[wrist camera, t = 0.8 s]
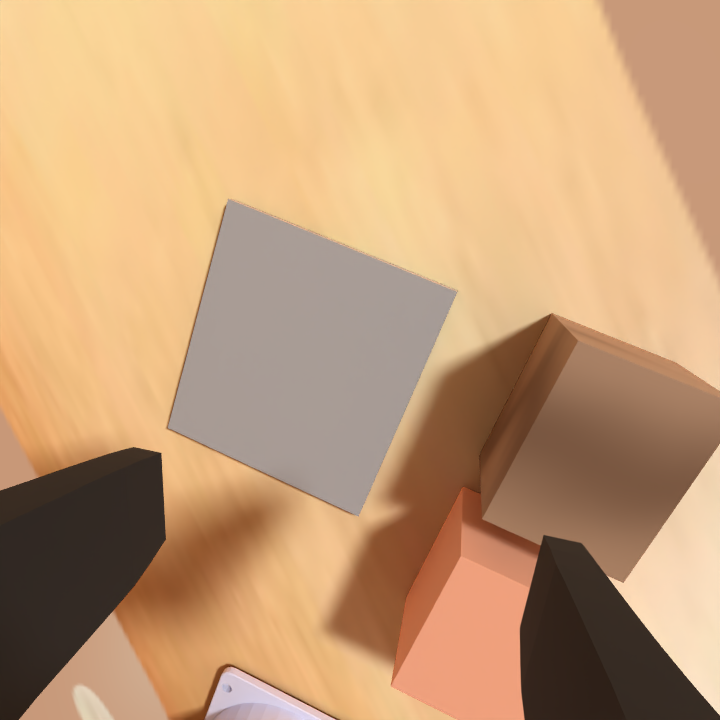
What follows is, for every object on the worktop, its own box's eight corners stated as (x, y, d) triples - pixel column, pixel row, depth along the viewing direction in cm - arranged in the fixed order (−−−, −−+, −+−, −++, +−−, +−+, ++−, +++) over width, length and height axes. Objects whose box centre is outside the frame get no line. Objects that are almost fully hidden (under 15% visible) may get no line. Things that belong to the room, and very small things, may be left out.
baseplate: (360, 511, 21) (358, 516, 20) (172, 424, 21) (167, 427, 21) (457, 290, 17) (457, 292, 17) (233, 199, 18) (228, 198, 18)
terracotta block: (501, 640, 21) (509, 745, 17) (406, 595, 21) (390, 686, 17) (568, 532, 19) (597, 619, 15) (462, 484, 19) (460, 556, 15)
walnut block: (588, 501, 19) (623, 582, 14) (479, 454, 19) (481, 519, 15) (674, 361, 17) (744, 407, 12) (551, 312, 17) (578, 340, 13)
